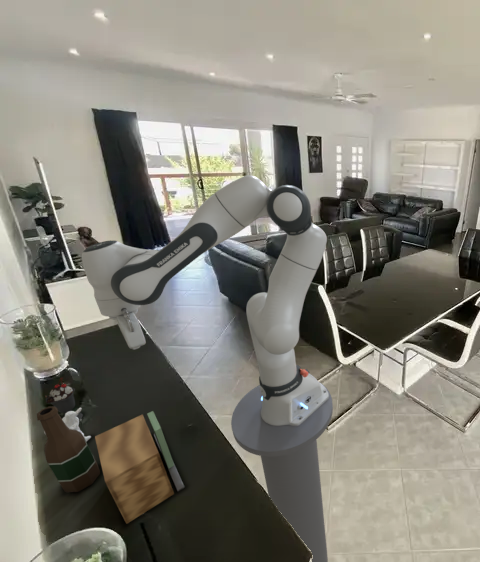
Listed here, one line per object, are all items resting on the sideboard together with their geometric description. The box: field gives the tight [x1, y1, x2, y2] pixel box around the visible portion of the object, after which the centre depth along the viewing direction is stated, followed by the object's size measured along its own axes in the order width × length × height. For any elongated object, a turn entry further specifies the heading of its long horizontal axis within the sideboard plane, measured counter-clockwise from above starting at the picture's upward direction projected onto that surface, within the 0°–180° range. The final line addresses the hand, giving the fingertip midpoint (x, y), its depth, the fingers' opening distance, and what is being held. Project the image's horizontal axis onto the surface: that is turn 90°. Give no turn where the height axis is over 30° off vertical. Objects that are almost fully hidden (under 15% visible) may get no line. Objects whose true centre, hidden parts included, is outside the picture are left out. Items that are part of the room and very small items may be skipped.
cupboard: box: [94, 414, 185, 525], centre depth 83 cm, size 12×24×15 cm, turn 45°
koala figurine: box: [43, 407, 92, 443], centre depth 91 cm, size 8×7×12 cm
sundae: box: [44, 377, 84, 421], centre depth 100 cm, size 7×7×15 cm
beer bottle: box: [36, 405, 101, 493], centre depth 80 cm, size 8×8×24 cm
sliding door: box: [146, 410, 175, 469], centre depth 87 cm, size 2×8×14 cm, turn 45°
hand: (135, 346), depth 89 cm, fingers closed
